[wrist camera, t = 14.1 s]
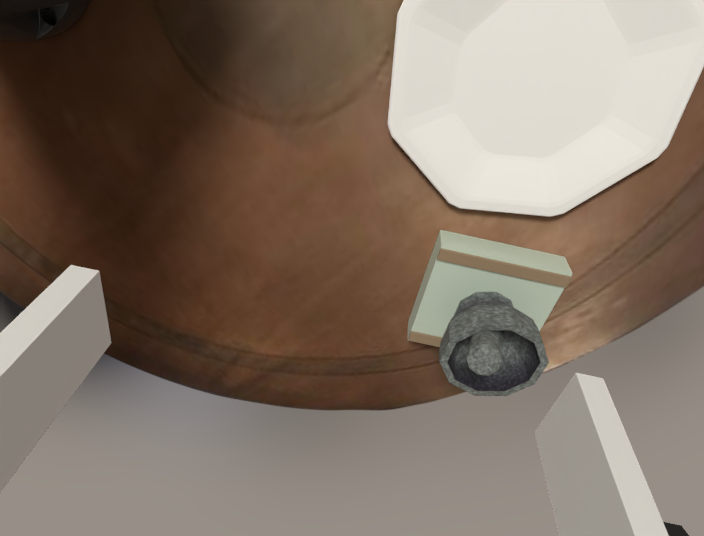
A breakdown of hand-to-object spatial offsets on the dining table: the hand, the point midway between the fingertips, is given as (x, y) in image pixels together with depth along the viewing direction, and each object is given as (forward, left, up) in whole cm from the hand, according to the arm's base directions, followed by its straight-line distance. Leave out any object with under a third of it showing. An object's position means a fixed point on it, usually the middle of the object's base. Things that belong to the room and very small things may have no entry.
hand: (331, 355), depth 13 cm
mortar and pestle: (+15, -20, -30) cm, 39 cm away
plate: (+12, +2, -33) cm, 35 cm away
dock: (+15, -20, -33) cm, 41 cm away
